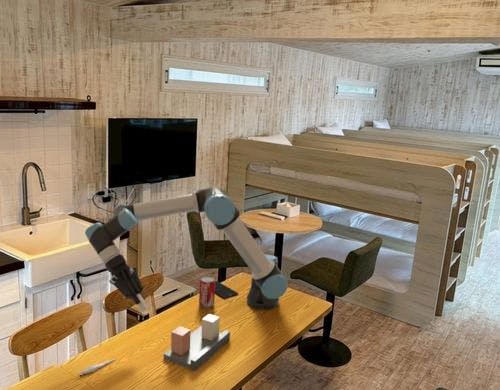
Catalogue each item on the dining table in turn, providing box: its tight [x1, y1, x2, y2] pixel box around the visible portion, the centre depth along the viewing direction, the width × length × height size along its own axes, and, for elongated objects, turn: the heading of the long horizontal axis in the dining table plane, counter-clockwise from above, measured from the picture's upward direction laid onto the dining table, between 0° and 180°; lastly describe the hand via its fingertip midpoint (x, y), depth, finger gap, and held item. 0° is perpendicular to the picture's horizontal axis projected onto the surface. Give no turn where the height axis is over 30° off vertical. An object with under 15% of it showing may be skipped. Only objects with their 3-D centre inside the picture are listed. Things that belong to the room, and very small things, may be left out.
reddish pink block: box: [170, 325, 191, 355], centre depth 169 cm, size 5×5×8 cm
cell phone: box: [214, 280, 239, 300], centre depth 226 cm, size 9×18×1 cm, turn 41°
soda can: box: [198, 275, 216, 309], centre depth 209 cm, size 7×7×13 cm
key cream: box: [201, 313, 221, 341], centre depth 179 cm, size 5×5×8 cm
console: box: [163, 325, 231, 372], centre depth 174 cm, size 14×24×4 cm, turn 152°
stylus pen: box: [77, 358, 117, 376], centre depth 160 cm, size 15×3×2 cm, turn 138°
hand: (145, 309), depth 174 cm, fingers closed
